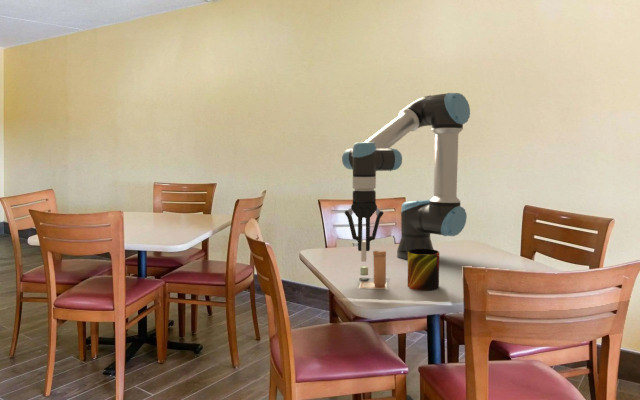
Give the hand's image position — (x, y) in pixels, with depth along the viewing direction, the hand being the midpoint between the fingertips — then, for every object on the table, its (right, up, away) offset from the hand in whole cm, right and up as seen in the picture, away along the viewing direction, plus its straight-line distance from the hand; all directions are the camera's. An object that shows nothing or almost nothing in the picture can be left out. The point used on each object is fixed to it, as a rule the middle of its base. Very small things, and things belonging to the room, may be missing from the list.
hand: (363, 260), depth 162 cm
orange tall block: (+4, -7, -8) cm, 12 cm away
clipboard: (+3, -8, -4) cm, 9 cm away
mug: (+16, -8, -7) cm, 20 cm away
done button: (0, -5, +1) cm, 5 cm away
